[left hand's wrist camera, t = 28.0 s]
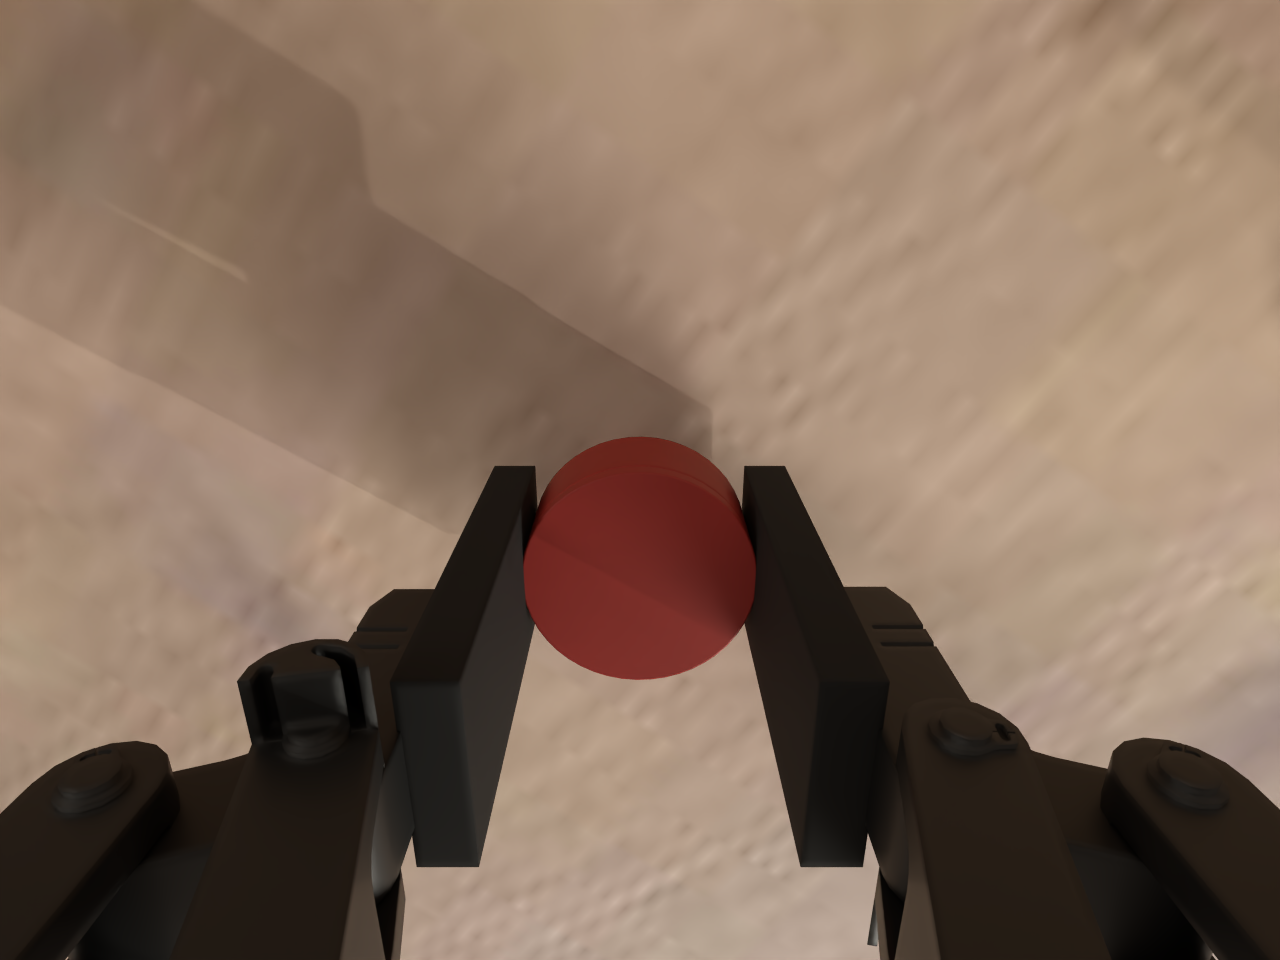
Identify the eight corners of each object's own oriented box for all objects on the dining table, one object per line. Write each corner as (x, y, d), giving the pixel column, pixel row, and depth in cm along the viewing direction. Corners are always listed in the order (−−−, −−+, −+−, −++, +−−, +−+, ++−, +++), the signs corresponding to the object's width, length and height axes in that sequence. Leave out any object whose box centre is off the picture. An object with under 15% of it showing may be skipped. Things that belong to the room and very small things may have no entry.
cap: (778, 571, 15) (796, 623, 13) (599, 653, 16) (594, 712, 14) (685, 397, 14) (691, 429, 12) (494, 496, 14) (475, 539, 13)
